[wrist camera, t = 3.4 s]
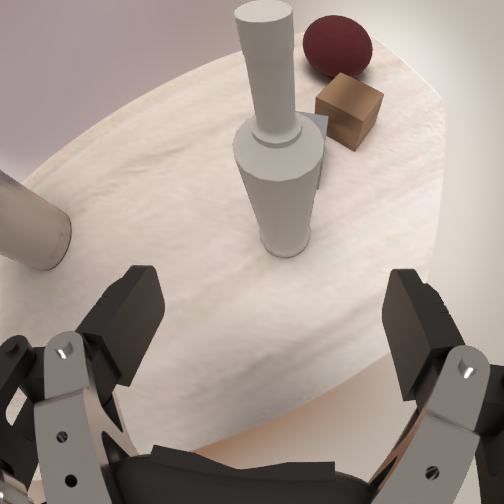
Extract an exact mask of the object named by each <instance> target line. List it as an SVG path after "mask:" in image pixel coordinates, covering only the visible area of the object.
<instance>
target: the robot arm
mask: <svg viewBox="0 0 504 504" xmlns="http://www.w3.org/2000/svg"><path fill="white" fill-rule="evenodd" d="M70 235H71V225H70V221H69V218H68V216H67V215H66V214H65V213H64V212H63V211H61V210H60V209H58V208H57V207H55V206H53V205H52V204H50V203H49V202H47V201H46V200H44V199H43V198H41V197H40V196H38V195H37V194H35V193H34V192H32V191H30V190H29V189H27V188H26V187H24V186H23V185H21V184H20V183H19V182H17V181H15V180H14V179H13V178H11V177H10V176H8V175H6V174H5V173H4V172H2V171H1V170H0V255H2V256H5V257H8V258H10V259H13V260H16V261H18V262H21V263H23V264H26V265H29V266H32V267H35V268H37V269H40V270H49V269H51V268H53V267H54V266H56V265H57V264H58V263H59V262H60V260H61V259H62V257H63V256H64V254H65V252H66V250H67V247H68V245H69V241H70ZM164 312H165V302H164V298H163V294H162V291H161V287H160V284H159V280H158V276H157V272H156V270H155V268H154V267H153V266H146V265H133V266H131V267H130V268H129V270H128V271H127V272H126V273H125V275H124V276H123V277H122V278H120V279H118V280H117V281H116V282H114V283H113V284H111V285H110V286H109V287H108V288H107V289H106V291H105V292H104V293H103V295H102V298H101V297H100V298H99V300H98V301H97V302H96V305H94V306H93V308H92V309H91V310H90V312H89V313H88V314H87V316H86V317H85V318H84V320H83V321H82V322H81V324H80V325H79V326H78V328H77V329H76V331H75V332H73V331H68V332H63V333H60V334H58V335H56V336H55V337H54V338H52V339H51V340H50V341H49V342H48V344H47V346H46V347H33V348H32V347H31V345H30V343H29V342H28V340H27V339H26V337H24V336H22V335H16V336H13V337H11V338H9V339H7V340H6V341H5V342H4V343H3V344H2V345H1V346H0V504H34V501H33V500H32V498H30V497H29V496H28V494H27V492H28V489H29V486H30V484H31V481H32V478H33V476H34V473H35V470H36V468H37V465H38V463H39V466H40V472H41V478H42V483H43V488H44V493H45V497H46V502H44V503H42V504H453V502H454V500H455V498H456V496H457V494H458V492H459V490H460V488H461V485H462V483H463V481H464V479H465V477H466V474H467V472H468V470H469V467H470V465H471V462H472V460H473V457H474V454H475V459H476V465H477V471H478V479H479V487H480V496H481V504H504V366H499V365H492V364H489V362H488V360H487V358H486V357H485V355H484V354H483V353H482V352H481V351H479V350H478V349H476V348H474V347H471V346H467V345H465V343H464V340H463V338H462V336H461V334H460V332H459V330H458V329H457V326H456V325H455V323H454V321H453V319H452V317H451V315H450V314H449V311H448V310H447V308H446V306H445V305H444V302H443V301H442V299H441V297H440V295H439V293H438V292H437V291H436V290H434V289H433V288H432V287H431V286H430V285H429V284H428V283H425V284H423V283H422V281H421V279H420V277H419V276H418V274H417V272H416V271H415V269H393V270H392V271H391V273H390V277H389V281H388V286H387V290H386V294H385V299H384V303H383V307H382V322H383V326H384V329H385V333H386V336H387V340H388V343H389V347H390V350H391V354H392V358H393V361H394V365H395V369H396V373H397V377H398V381H399V385H400V389H401V394H402V398H403V401H410V400H416V404H417V408H416V409H415V411H414V412H413V414H412V416H411V418H410V420H409V421H408V424H407V425H406V427H405V429H404V430H403V432H402V434H401V435H400V437H399V439H398V441H397V442H396V444H395V446H394V447H393V449H392V450H391V452H390V453H389V455H388V456H387V458H386V459H385V461H384V462H383V463H382V465H381V466H380V467H379V468H378V470H377V471H376V472H375V474H374V475H373V476H372V478H371V479H370V480H369V482H368V483H367V482H365V481H363V480H361V479H359V478H357V477H354V476H352V475H348V474H345V473H341V472H336V471H335V462H287V463H282V464H276V465H270V466H264V467H257V468H251V469H241V470H240V469H235V468H231V467H229V466H226V465H223V464H221V463H218V462H215V461H213V460H210V459H208V458H205V457H203V456H200V455H198V454H196V453H192V452H186V451H181V450H176V449H171V448H167V447H162V446H158V445H154V446H153V449H152V452H151V454H145V455H139V453H138V451H137V450H136V448H135V447H134V445H133V443H132V441H131V439H130V437H129V434H128V432H127V429H126V426H125V423H124V419H123V416H122V413H121V410H120V406H119V403H118V400H117V396H116V394H115V392H114V388H115V386H116V384H119V385H123V386H127V387H129V386H130V384H131V382H132V380H133V378H134V376H135V374H136V372H137V369H138V367H139V365H140V363H141V361H142V359H143V357H144V355H145V353H146V351H147V349H148V347H149V345H150V343H151V341H152V339H153V337H154V335H155V333H156V331H157V329H158V327H159V325H160V323H161V321H162V319H163V316H164ZM18 387H19V388H20V389H21V391H22V392H23V393H24V394H25V395H26V396H27V399H26V401H25V403H24V405H23V407H22V408H21V410H20V412H19V414H18V416H17V418H16V420H15V422H14V424H13V426H11V425H10V424H9V423H8V421H7V419H6V409H7V407H8V405H9V403H10V401H11V399H12V398H13V396H14V394H15V392H16V391H17V389H18Z"/></svg>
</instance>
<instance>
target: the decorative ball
mask: <svg viewBox="0 0 504 504" xmlns="http://www.w3.org/2000/svg"><path fill="white" fill-rule="evenodd" d="M303 49H304V53H305V56H306V58H307V60H308V61H309V62H310V64H311V65H312V66H313V67H314V68H315V69H317V70H318V71H319V72H321V73H323V74H325V75H327V76H330V77H336V76H337V75H338V74H339V73H340V72H341V73H343V74H345V75H347V76H350V77H352V76H355V75H357V74H359V73H360V72H362V71H363V70H364V69H365V68H366V67H367V65H368V64H369V63H370V60H371V57H372V50H373V49H372V43H371V39H370V37H369V35H368V33H367V32H366V31H365V29H364V28H363V27H362V26H361V25H359V24H358V23H357V22H355V21H354V20H352V19H349V18H346V17H343V16H337V15H330V16H325V17H322V18H319V19H317V20H316V21H314V22H313V23H312V24H311V25H310V26H309V27H308V28H307V30H306V32H305V34H304V38H303Z"/></svg>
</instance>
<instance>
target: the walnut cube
mask: <svg viewBox="0 0 504 504" xmlns="http://www.w3.org/2000/svg"><path fill="white" fill-rule="evenodd" d="M383 96H384V94H383V93H381V92H379V91H378V90H376V89H374V88H372V87H370V86H368V85H366V84H364V83H362V82H360V81H358V80H356V79H354V78H352V77H350V76H347V75H345V74H343V73H341V72H340V73H339V74H338V75H337V76H336V77H335V78H334V79H333V80H332V81H331V82H330V83H329V84H328V85H327V86H326V87H325V88H324V89H323V90H322V91H321V92H320V93H319V94H318V95H317V96H316V103H315V114H318V115H324V116H328V124H327V132H326V136H328V137H330V138H332V139H333V140H335V141H337V142H339V143H340V144H342V145H344V146H346V147H347V148H349V149H351V150H352V151H354V152H355V151H356V149H357V148H358V146H359V145H360V144H361V142H362V141H363V140H364V138H365V137H366V135H367V134H368V133H369V131H370V130H371V128H372V127H373V126H374V124H375V122H376V118H377V115H378V112H379V109H380V106H381V103H382V99H383Z"/></svg>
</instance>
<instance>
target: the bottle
mask: <svg viewBox="0 0 504 504" xmlns="http://www.w3.org/2000/svg"><path fill="white" fill-rule="evenodd" d="M234 15H235V19H236V24H237V29H238V33H239V38H240V43H241V48H242V52H243V55H244V56H245V61H246V66H247V71H248V76H249V82H250V87H251V93H252V98H253V104H254V109H255V115H254V116H253V117H251V118H249V119H247V120H246V121H245V122H244V123H243V124H242V125H241V127H240V128H239V129H238V130H237V131H236V134H235V137H234V140H233V144H232V145H233V151H234V157H235V160H236V163H237V166H238V168H239V171H240V174H241V177H242V179H243V182H244V185H245V188H246V191H247V193H248V196H249V199H250V202H251V204H252V207H253V210H254V213H255V216H256V218H257V221H258V224H259V227H260V230H259V232H260V237H261V241H262V243H263V244H264V246H265V247H266V249H267V250H268V251H269V252H271V253H272V254H274V255H275V256H279V257H284V258H286V257H291V256H295V255H296V254H298V253H299V252H301V251H302V250H303V249H304V248H305V246H306V245H307V243H308V241H309V236H310V226H309V223H310V218H311V213H312V208H313V203H314V197H315V192H316V187H317V182H318V176H319V171H320V165H321V160H322V154H323V146H324V140H323V137H322V135H321V132H320V129H319V128H318V127H317V126H316V125H315V124H314V123H313V122H312V121H311V120H310V119H309V118H308V117H306V116H303V115H301V114H299V113H297V112H295V86H294V60H293V50H294V30H293V13H292V8H291V7H290V5H288V4H286V3H284V2H281V1H276V0H259V1H253V2H249V3H246V4H243V5H242V6H240V7H238V8H237V9H236V11H235V12H234Z"/></svg>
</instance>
